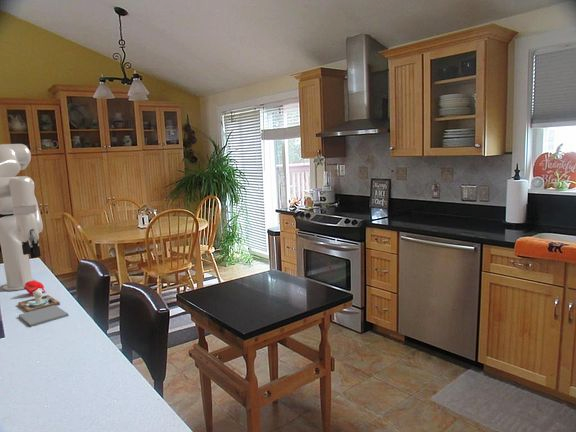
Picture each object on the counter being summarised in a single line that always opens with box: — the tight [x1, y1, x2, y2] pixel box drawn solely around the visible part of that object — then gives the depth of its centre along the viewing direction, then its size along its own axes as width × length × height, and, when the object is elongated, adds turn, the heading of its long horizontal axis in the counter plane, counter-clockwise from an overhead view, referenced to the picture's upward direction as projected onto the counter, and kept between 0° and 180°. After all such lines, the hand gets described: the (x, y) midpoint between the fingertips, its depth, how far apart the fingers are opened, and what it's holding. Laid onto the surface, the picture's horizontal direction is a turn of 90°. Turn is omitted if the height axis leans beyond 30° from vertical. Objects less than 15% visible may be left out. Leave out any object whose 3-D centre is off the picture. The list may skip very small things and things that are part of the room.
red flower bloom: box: [23, 280, 46, 297], centre depth 179 cm, size 8×6×6 cm
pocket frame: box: [17, 294, 61, 313], centre depth 166 cm, size 14×11×1 cm
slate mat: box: [18, 305, 69, 328], centre depth 153 cm, size 14×12×1 cm
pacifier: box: [28, 289, 49, 308], centre depth 166 cm, size 7×6×6 cm
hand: (31, 255), depth 162 cm, fingers open, 9 cm apart
